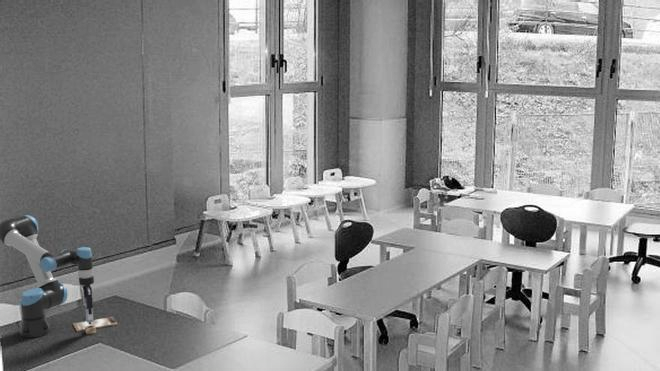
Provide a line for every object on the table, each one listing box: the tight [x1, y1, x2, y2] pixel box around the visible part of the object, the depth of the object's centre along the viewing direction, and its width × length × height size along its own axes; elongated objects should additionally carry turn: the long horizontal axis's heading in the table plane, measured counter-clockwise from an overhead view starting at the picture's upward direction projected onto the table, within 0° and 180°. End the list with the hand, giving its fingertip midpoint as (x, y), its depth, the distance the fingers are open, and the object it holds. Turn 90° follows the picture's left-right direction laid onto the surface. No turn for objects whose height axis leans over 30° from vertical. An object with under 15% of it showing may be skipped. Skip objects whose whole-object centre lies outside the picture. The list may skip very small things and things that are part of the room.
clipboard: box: [72, 316, 119, 333], centre depth 446 cm, size 22×14×1 cm, turn 116°
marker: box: [84, 298, 94, 324], centre depth 432 cm, size 4×4×14 cm
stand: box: [84, 325, 97, 335], centre depth 434 cm, size 5×5×3 cm
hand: (89, 318), depth 433 cm, fingers closed on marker, 3 cm apart
